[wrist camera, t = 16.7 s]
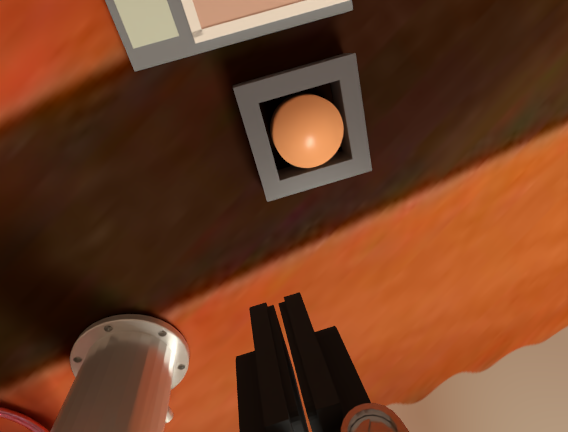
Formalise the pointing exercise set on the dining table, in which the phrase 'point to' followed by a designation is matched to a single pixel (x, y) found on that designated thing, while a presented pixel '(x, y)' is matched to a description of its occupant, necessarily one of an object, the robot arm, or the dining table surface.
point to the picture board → (206, 24)
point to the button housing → (346, 100)
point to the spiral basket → (22, 420)
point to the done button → (306, 130)
